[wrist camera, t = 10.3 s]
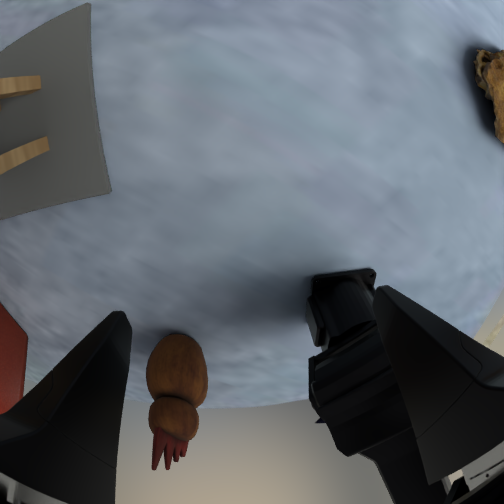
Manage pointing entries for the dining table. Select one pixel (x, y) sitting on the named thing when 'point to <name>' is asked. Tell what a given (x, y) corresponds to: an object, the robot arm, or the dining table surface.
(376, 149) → the dining table surface
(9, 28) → the dining table surface
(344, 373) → the robot arm
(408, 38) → the dining table surface
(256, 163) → the dining table surface
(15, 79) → the oak stool
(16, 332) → the plant pot
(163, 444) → the wooden figurine
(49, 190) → the charcoal mat
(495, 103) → the decorative rock
